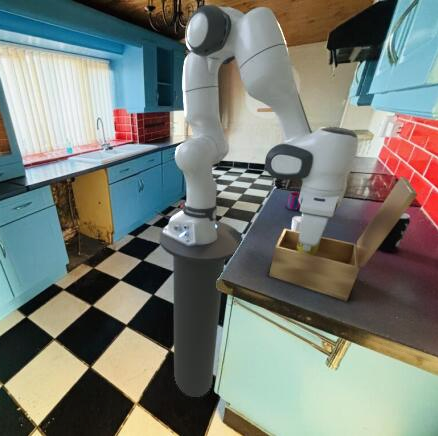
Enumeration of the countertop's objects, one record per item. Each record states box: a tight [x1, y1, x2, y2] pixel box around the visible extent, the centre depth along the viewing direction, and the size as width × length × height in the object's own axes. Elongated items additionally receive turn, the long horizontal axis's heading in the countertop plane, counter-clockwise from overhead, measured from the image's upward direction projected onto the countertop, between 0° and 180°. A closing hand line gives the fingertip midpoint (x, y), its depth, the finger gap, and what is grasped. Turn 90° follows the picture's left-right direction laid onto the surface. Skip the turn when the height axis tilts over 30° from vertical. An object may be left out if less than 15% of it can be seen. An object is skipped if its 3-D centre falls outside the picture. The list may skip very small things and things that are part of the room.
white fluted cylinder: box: [290, 215, 301, 232], centre depth 85 cm, size 7×7×7 cm
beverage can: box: [377, 212, 411, 253], centre depth 75 cm, size 7×7×12 cm
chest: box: [269, 228, 361, 302], centre depth 65 cm, size 18×13×10 cm
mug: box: [286, 191, 300, 212], centre depth 107 cm, size 7×10×7 cm
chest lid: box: [356, 176, 419, 268], centre depth 53 cm, size 18×13×1 cm
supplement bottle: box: [296, 238, 321, 256], centre depth 64 cm, size 5×5×8 cm
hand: (307, 244), depth 64 cm, fingers closed on supplement bottle, 5 cm apart
